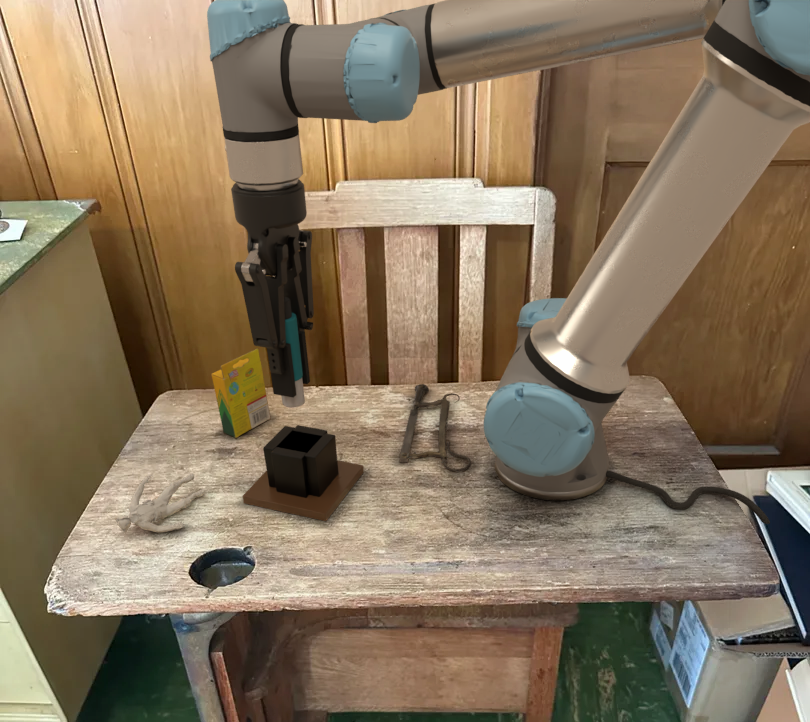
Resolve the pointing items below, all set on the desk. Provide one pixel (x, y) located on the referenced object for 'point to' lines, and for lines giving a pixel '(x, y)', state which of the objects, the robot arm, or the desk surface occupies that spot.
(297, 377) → the teal and black cylinder
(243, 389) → the crayon box
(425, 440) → the desk surface
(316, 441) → the holder
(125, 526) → the soldier figure
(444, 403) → the hacksaw
